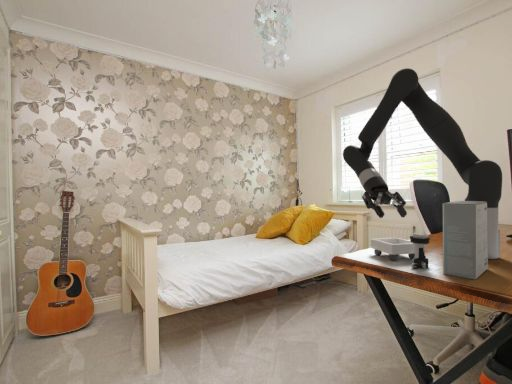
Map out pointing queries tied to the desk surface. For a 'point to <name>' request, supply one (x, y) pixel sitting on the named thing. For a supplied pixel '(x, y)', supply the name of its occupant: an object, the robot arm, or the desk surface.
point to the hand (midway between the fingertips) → (393, 216)
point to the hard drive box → (465, 238)
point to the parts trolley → (393, 247)
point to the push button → (419, 250)
